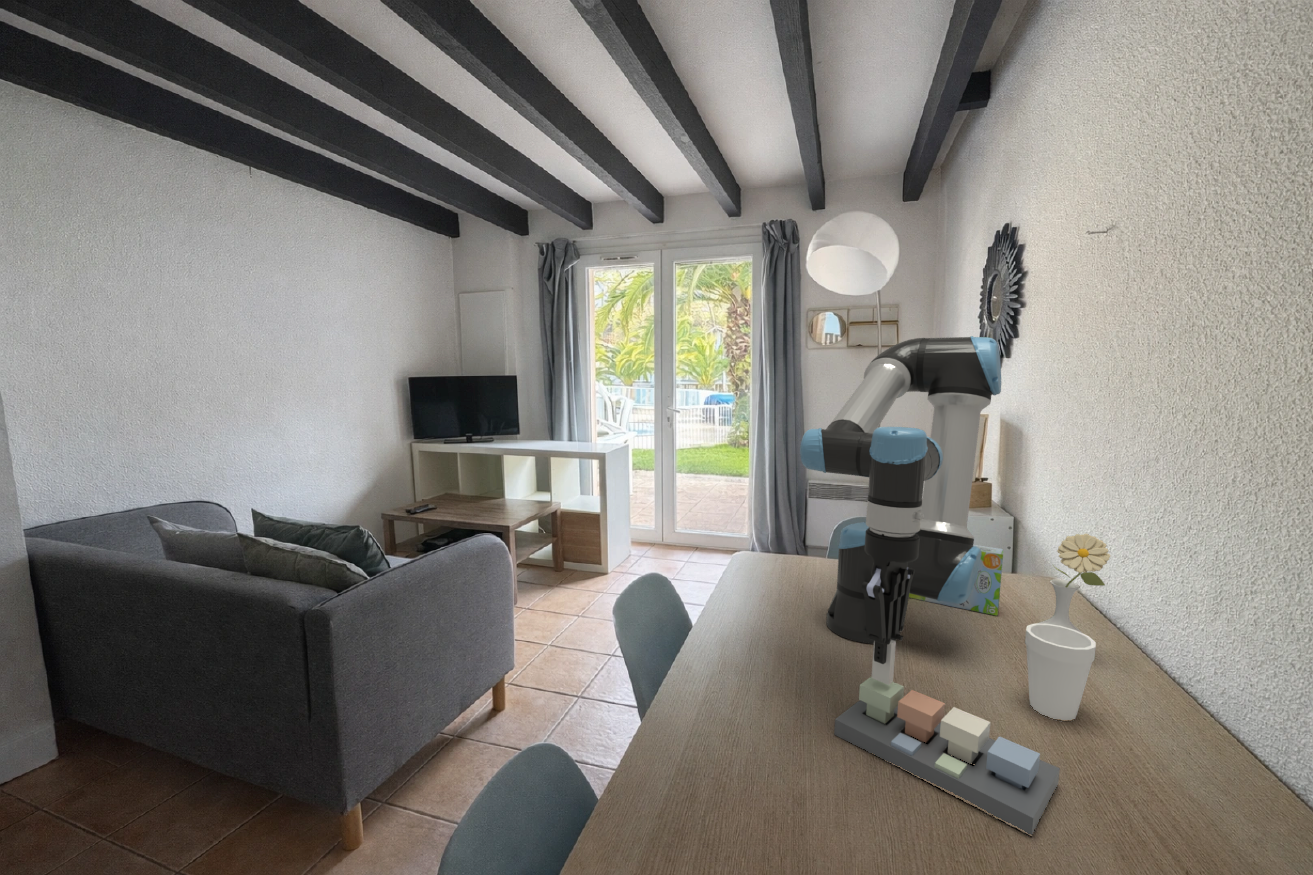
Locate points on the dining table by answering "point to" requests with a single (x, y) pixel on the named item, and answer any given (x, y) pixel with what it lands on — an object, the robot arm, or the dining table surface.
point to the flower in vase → (1082, 558)
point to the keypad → (950, 767)
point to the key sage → (880, 698)
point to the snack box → (981, 584)
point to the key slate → (1013, 763)
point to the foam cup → (1057, 668)
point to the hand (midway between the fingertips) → (882, 679)
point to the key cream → (964, 734)
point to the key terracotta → (920, 714)
